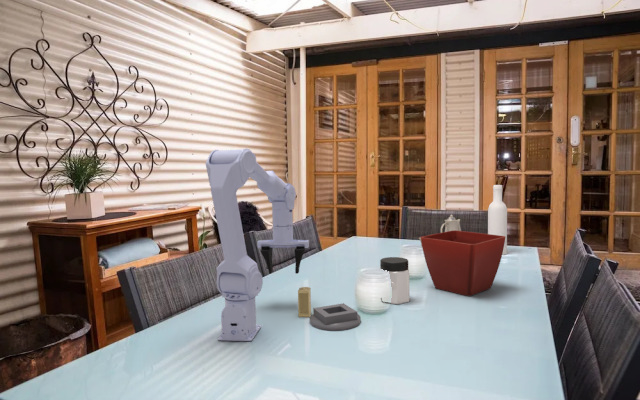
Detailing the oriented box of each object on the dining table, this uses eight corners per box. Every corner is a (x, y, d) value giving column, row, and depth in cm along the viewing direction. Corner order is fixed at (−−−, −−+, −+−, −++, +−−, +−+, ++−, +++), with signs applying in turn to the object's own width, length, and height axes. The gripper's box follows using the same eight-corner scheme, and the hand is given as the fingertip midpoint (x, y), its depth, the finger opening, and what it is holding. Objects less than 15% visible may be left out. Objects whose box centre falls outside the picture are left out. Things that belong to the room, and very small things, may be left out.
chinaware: (449, 245, 225) (446, 212, 225) (479, 245, 212) (475, 211, 213) (414, 253, 207) (411, 217, 207) (445, 254, 194) (441, 216, 195)
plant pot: (473, 301, 127) (473, 243, 126) (419, 288, 142) (419, 236, 141) (506, 288, 139) (507, 235, 138) (453, 278, 154) (453, 230, 153)
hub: (322, 334, 105) (321, 321, 104) (302, 317, 117) (302, 306, 116) (369, 325, 110) (369, 313, 110) (346, 310, 122) (346, 299, 122)
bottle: (508, 252, 195) (509, 184, 193) (505, 255, 188) (506, 185, 186) (489, 251, 199) (489, 184, 197) (485, 254, 193) (486, 185, 190)
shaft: (309, 317, 117) (309, 291, 116) (298, 316, 117) (297, 291, 117) (311, 312, 121) (311, 286, 120) (300, 311, 121) (300, 286, 121)
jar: (375, 301, 129) (374, 261, 128) (385, 294, 136) (384, 256, 135) (404, 306, 124) (404, 264, 123) (413, 298, 131) (413, 258, 131)
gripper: (309, 223, 129) (310, 269, 130) (260, 223, 130) (262, 269, 131) (306, 226, 122) (307, 275, 123) (255, 227, 123) (256, 275, 124)
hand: (283, 272), depth 126 cm, fingers open, 7 cm apart
